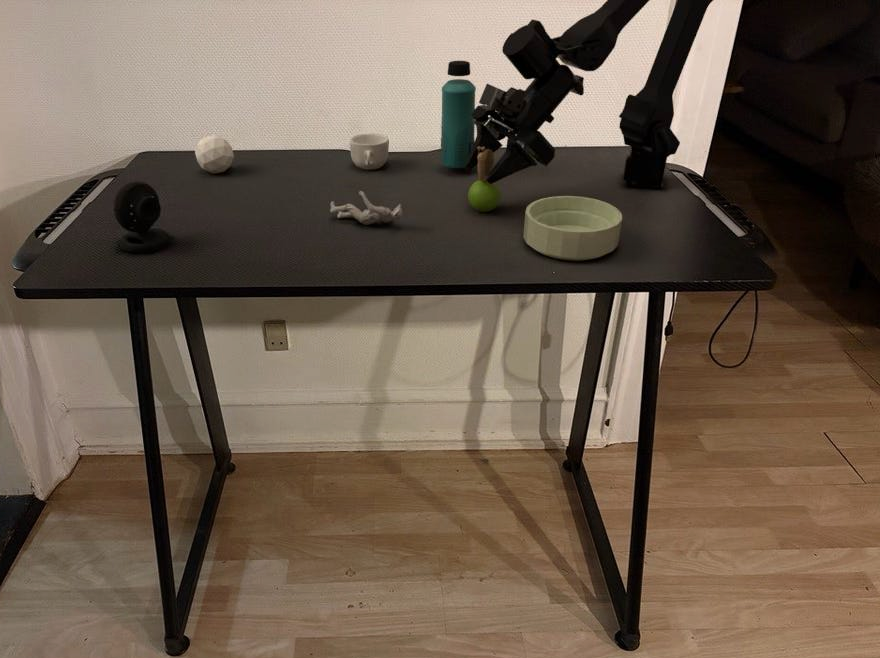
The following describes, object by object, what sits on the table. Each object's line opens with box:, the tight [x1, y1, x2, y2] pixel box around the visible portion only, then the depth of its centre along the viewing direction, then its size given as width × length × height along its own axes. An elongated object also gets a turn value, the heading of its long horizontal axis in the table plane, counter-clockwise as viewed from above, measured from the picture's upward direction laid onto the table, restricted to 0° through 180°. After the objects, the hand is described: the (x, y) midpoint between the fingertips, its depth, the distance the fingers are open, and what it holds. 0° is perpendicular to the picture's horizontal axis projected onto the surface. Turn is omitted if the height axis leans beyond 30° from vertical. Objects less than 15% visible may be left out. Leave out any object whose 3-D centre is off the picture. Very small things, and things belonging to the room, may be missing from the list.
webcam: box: [113, 180, 170, 254], centre depth 111 cm, size 8×8×10 cm
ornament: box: [194, 132, 235, 175], centre depth 141 cm, size 7×7×8 cm
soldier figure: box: [330, 190, 403, 226], centre depth 119 cm, size 8×5×12 cm
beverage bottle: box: [440, 60, 477, 169], centre depth 136 cm, size 6×7×20 cm
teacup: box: [349, 132, 390, 171], centre depth 142 cm, size 10×8×5 cm
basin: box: [523, 195, 623, 261], centre depth 111 cm, size 14×14×5 cm
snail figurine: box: [467, 146, 502, 213], centre depth 120 cm, size 5×6×12 cm
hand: (477, 175), depth 119 cm, fingers open, 7 cm apart
